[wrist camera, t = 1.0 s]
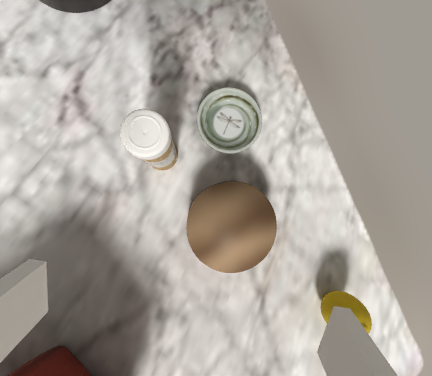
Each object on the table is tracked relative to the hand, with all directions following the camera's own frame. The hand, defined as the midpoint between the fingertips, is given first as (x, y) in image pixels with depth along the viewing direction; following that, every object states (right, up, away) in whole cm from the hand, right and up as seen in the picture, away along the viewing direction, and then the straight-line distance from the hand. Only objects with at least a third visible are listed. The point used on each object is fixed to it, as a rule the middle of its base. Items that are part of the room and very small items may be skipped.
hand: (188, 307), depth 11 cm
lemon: (+19, -12, +26) cm, 35 cm away
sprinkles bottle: (-7, +10, +24) cm, 27 cm away
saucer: (+3, +15, +25) cm, 30 cm away
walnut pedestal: (+3, 0, +25) cm, 25 cm away
